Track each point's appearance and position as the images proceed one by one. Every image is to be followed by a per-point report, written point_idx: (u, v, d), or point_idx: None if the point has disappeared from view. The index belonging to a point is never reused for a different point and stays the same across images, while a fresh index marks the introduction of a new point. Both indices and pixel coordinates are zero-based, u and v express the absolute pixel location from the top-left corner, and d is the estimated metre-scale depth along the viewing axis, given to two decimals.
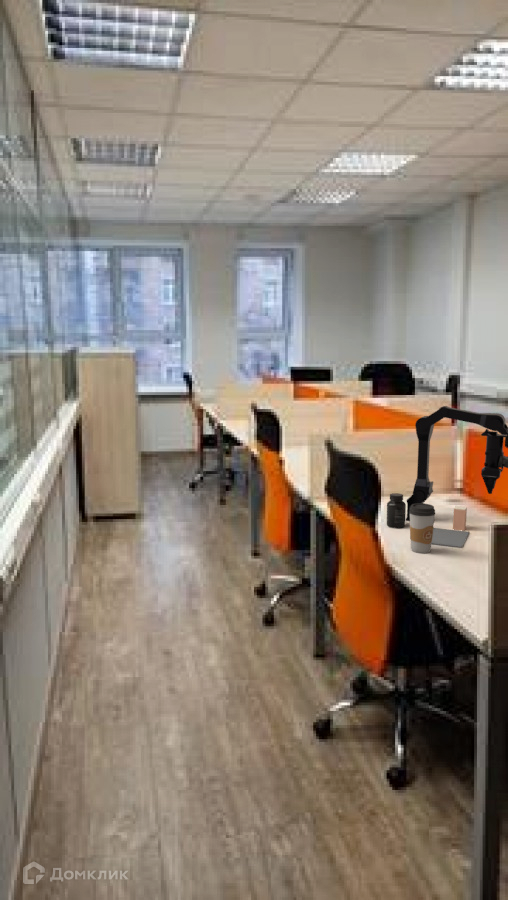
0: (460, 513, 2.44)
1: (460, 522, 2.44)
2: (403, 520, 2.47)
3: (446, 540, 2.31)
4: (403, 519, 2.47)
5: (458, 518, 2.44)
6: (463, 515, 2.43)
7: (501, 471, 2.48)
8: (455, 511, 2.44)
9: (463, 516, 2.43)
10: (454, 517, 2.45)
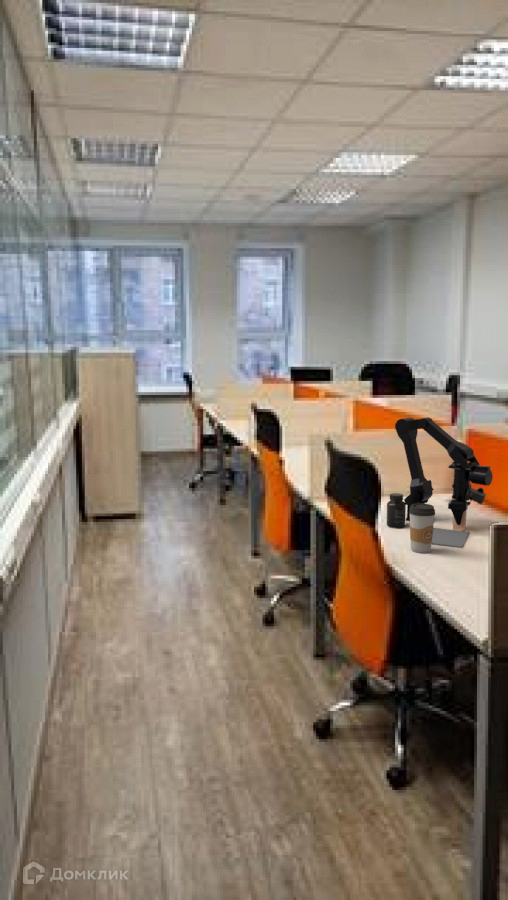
0: None
1: None
2: (403, 520, 2.47)
3: (446, 540, 2.31)
4: (403, 519, 2.47)
5: None
6: (463, 515, 2.43)
7: (469, 504, 2.47)
8: None
9: (463, 516, 2.43)
10: None
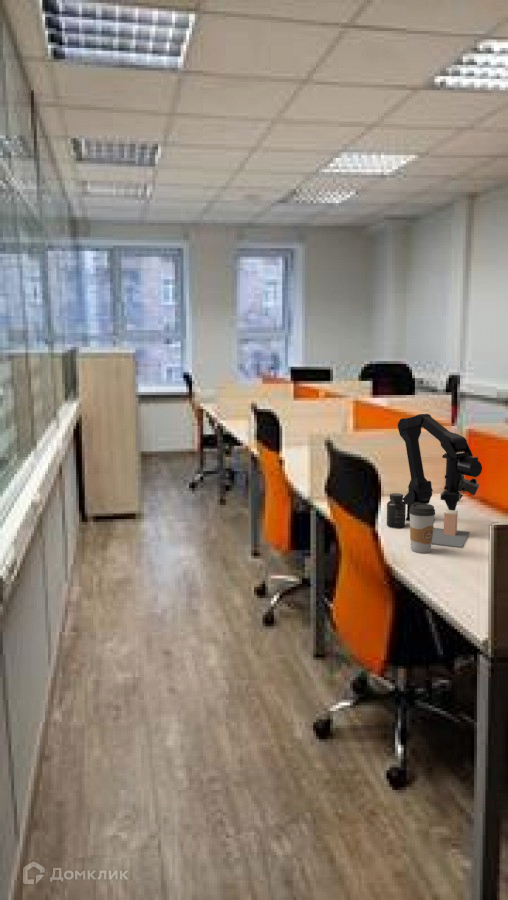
0: (451, 517, 2.36)
1: (451, 527, 2.37)
2: (403, 520, 2.47)
3: (446, 540, 2.31)
4: (403, 519, 2.47)
5: (448, 523, 2.37)
6: (454, 519, 2.36)
7: (461, 497, 2.40)
8: (445, 515, 2.37)
9: (454, 521, 2.36)
10: (444, 522, 2.38)
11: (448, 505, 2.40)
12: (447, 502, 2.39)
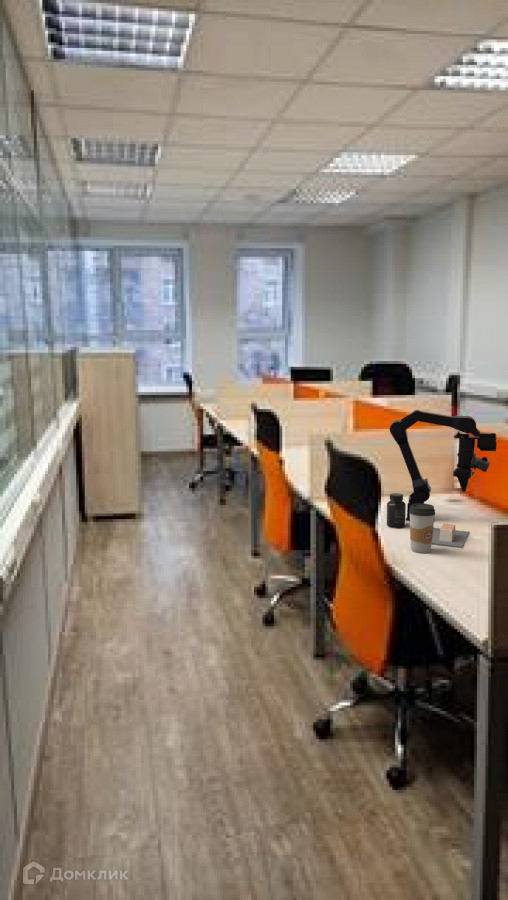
0: None
1: None
2: (403, 520, 2.47)
3: None
4: (403, 519, 2.47)
5: None
6: None
7: (472, 474, 2.51)
8: None
9: None
10: None
11: (460, 482, 2.51)
12: (459, 479, 2.51)
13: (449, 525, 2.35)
